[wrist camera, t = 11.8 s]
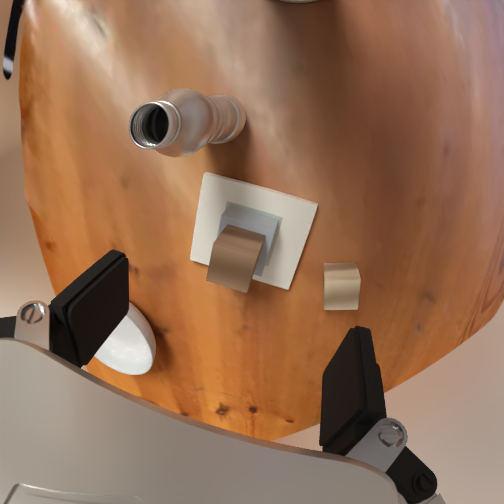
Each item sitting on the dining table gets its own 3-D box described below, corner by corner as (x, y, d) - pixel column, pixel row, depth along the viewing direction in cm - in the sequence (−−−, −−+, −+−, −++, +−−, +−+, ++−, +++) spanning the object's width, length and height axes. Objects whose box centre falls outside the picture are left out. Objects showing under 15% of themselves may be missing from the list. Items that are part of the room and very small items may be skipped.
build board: (206, 172, 40) (203, 173, 39) (317, 203, 39) (317, 205, 38) (192, 256, 47) (189, 259, 45) (288, 285, 46) (288, 290, 44)
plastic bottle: (259, 122, 36) (209, 128, 18) (220, 151, 38) (144, 186, 21) (230, 86, 34) (157, 63, 16) (192, 116, 37) (100, 125, 19)
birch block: (323, 262, 43) (324, 280, 38) (356, 262, 42) (360, 279, 37) (323, 290, 45) (323, 310, 41) (354, 290, 44) (357, 309, 40)
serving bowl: (129, 265, 50) (109, 285, 44) (184, 349, 57) (172, 373, 51) (72, 289, 57) (54, 305, 51) (120, 357, 64) (108, 376, 58)
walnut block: (227, 223, 37) (213, 243, 32) (265, 235, 37) (257, 256, 31) (220, 257, 39) (206, 280, 34) (255, 268, 39) (246, 293, 34)
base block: (229, 205, 40) (221, 214, 37) (278, 219, 40) (275, 230, 36) (220, 249, 43) (212, 261, 40) (265, 262, 43) (261, 276, 40)
